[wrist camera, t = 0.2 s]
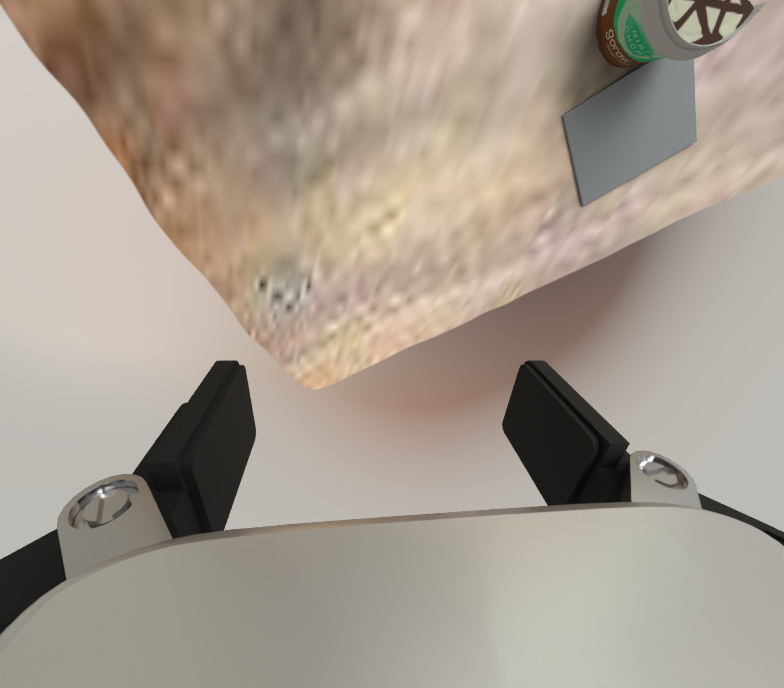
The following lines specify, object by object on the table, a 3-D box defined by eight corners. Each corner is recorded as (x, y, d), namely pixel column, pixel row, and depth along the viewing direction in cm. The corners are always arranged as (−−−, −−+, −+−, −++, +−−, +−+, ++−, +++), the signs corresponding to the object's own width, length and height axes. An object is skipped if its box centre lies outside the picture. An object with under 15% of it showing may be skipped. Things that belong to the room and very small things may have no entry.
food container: (563, 41, 36) (631, 1, 28) (600, -27, 34) (687, -95, 25) (635, 102, 40) (714, 82, 31) (672, 44, 38) (770, 6, 29)
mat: (561, 115, 40) (563, 115, 39) (689, 36, 37) (692, 34, 37) (581, 205, 45) (583, 206, 45) (693, 141, 43) (696, 141, 43)
